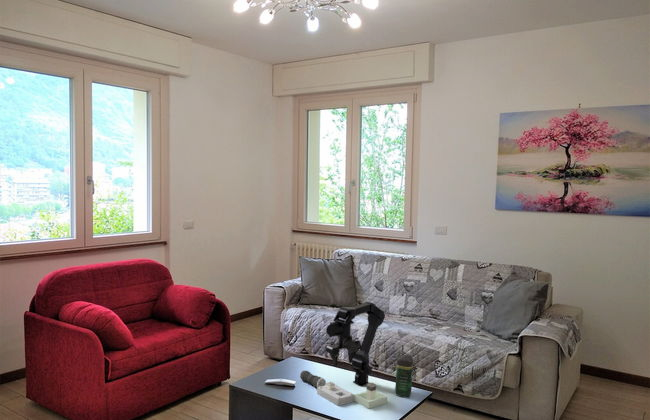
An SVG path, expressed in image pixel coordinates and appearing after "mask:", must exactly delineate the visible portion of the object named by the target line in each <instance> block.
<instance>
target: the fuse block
mask: <svg viewBox="0 0 650 420" xmlns="http://www.w3.org/2000/svg"><path fill="white" fill-rule="evenodd" d="M316 394H317V395H319V396H320V397H322V398H324V399H326V400H327V401H329V402H331V403H332V404H334V405H336V406H341V405H346V404H348V403H351V402H355V401H354V393H352V392H351V391H348V390H346V389H344V388H342V387H341V386H339V385H337V384H335V389H333V390H328V389H326V385H325V386H320V387H317V388H316Z"/></svg>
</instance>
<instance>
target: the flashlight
mask: <svg viewBox="0 0 650 420" xmlns="http://www.w3.org/2000/svg"><path fill="white" fill-rule="evenodd" d="M299 377H300V379H301V380H302V381H304V382H307V383H309V384H310V385H312V386H314V388H316V389H317V387H320V386H325V385H326V383H327V381H326V379H325V378H323V377H321V376H318V375H315V374H313V373H311V372H310V371H308V370H301V372H300V376H299Z"/></svg>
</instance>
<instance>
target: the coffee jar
mask: <svg viewBox="0 0 650 420" xmlns="http://www.w3.org/2000/svg"><path fill="white" fill-rule="evenodd" d="M413 369H414V358H413V357H412V356H411V355H407V354H402V355H400V356H398V358H397V360H396V371H395V373H396V374H395V385H394V386H395V388H394V394H395V395H396V396H399V397H402V398H403V397H404V398H406V397H407V398H409V397H410V396H411V394H412V390H413V389H412V385H413V373H414V372H413V371H414V370H413ZM408 396H409V397H408Z"/></svg>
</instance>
